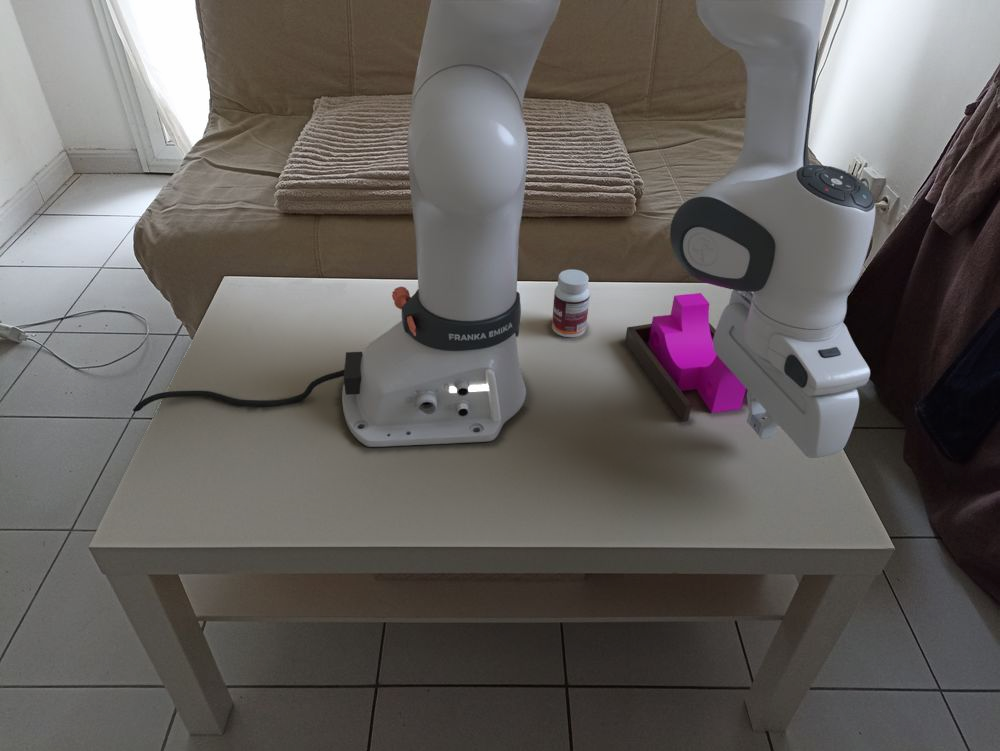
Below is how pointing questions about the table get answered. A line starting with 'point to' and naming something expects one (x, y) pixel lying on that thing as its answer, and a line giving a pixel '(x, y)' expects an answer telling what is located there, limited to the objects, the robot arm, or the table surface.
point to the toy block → (694, 354)
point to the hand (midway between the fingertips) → (759, 430)
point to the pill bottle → (571, 303)
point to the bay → (658, 368)
